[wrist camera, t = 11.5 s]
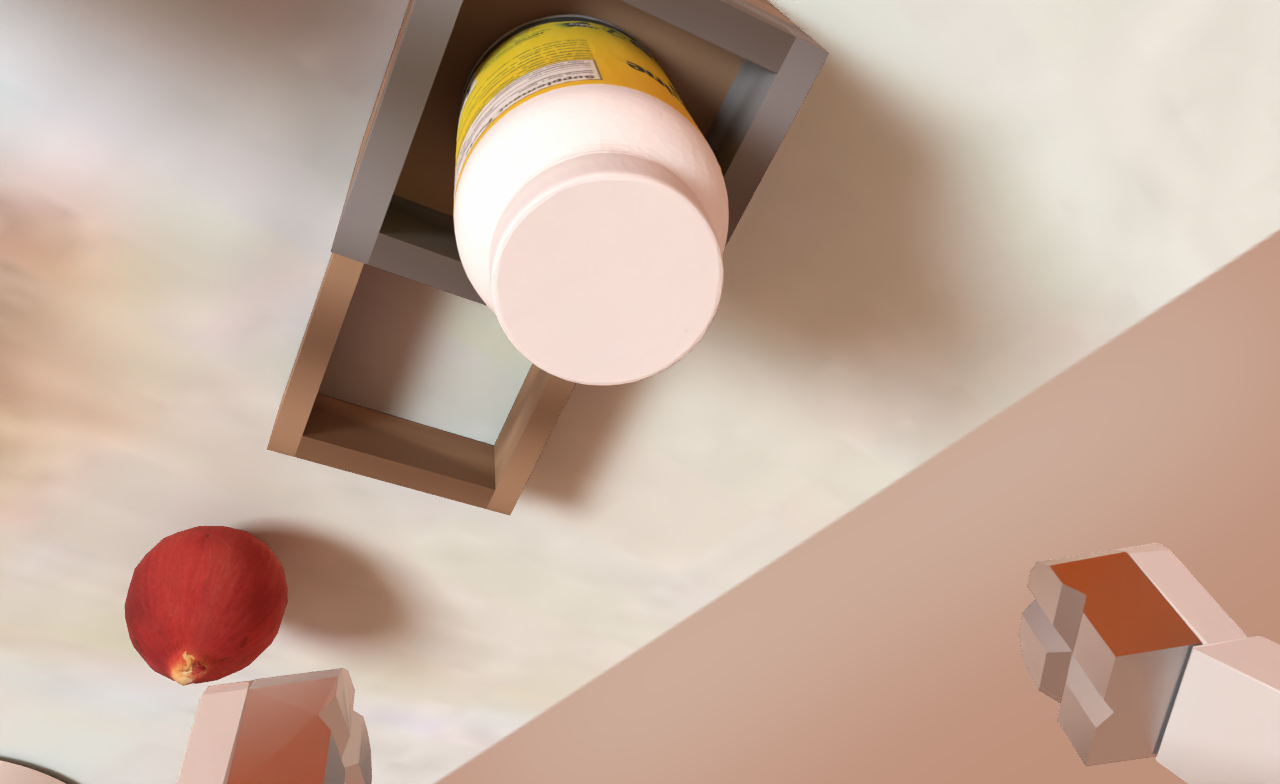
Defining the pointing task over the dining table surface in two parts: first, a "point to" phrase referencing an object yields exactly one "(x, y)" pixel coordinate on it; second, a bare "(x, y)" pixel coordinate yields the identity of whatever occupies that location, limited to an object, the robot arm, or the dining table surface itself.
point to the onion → (205, 603)
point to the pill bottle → (587, 202)
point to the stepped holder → (424, 205)
